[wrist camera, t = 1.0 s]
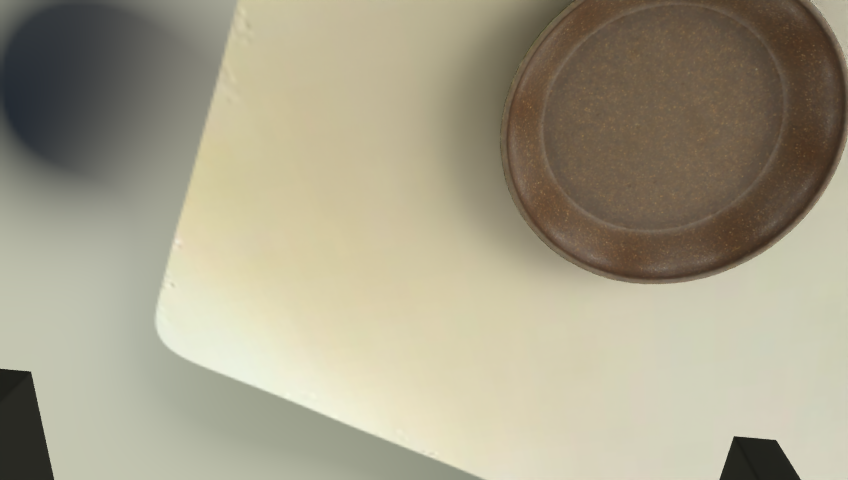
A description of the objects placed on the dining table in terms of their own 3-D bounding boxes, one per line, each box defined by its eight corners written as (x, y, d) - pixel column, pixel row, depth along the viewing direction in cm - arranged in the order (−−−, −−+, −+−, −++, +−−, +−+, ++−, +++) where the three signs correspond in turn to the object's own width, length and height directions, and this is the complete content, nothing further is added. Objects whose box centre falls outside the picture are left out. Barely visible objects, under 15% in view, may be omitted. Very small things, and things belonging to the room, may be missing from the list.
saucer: (469, 5, 30) (466, 14, 28) (822, -91, 27) (853, -90, 25) (533, 280, 36) (534, 307, 34) (827, 229, 33) (852, 254, 31)
